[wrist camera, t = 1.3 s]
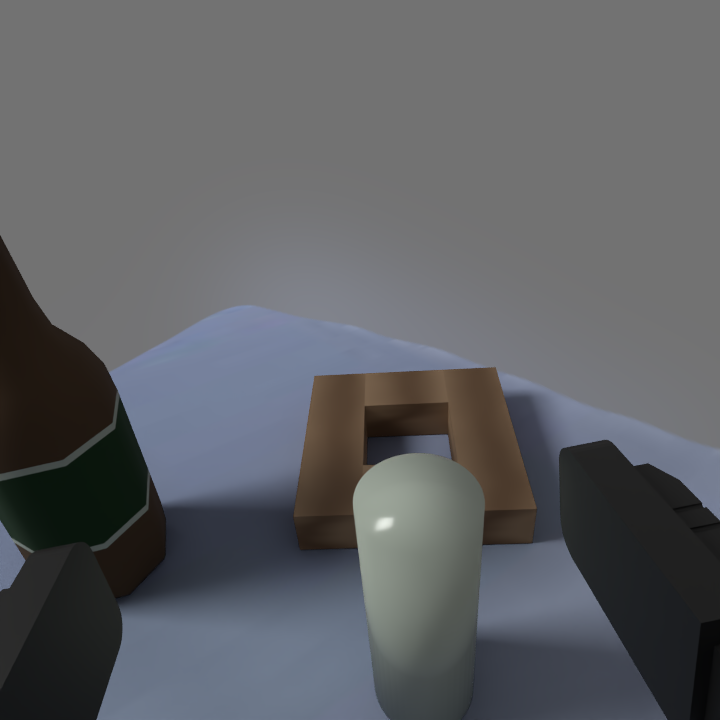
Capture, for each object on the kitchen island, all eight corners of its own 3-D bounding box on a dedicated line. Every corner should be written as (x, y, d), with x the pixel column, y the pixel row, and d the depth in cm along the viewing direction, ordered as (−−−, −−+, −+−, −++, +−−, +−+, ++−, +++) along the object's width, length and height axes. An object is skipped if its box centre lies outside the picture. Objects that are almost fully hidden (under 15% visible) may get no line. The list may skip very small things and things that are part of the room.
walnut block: (300, 549, 36) (293, 516, 34) (318, 405, 47) (314, 375, 45) (532, 543, 35) (536, 508, 33) (493, 398, 46) (495, 367, 45)
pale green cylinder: (374, 735, 27) (350, 555, 19) (374, 635, 31) (355, 455, 23) (479, 734, 26) (495, 551, 19) (466, 634, 30) (475, 450, 23)
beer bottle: (147, 489, 41) (4, 133, 27) (193, 560, 36) (44, 162, 22) (30, 550, 37) (-201, 173, 24) (62, 639, 32) (-212, 219, 18)
